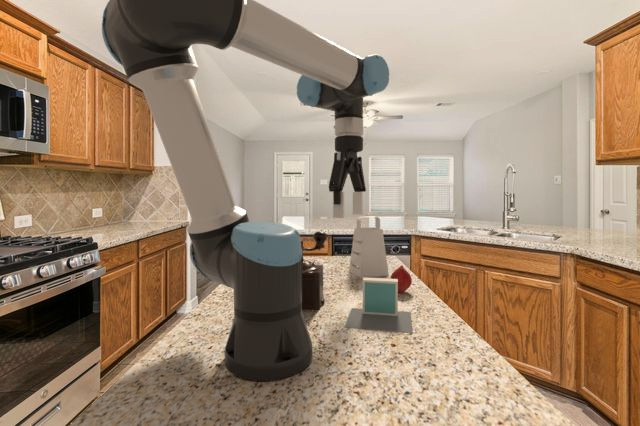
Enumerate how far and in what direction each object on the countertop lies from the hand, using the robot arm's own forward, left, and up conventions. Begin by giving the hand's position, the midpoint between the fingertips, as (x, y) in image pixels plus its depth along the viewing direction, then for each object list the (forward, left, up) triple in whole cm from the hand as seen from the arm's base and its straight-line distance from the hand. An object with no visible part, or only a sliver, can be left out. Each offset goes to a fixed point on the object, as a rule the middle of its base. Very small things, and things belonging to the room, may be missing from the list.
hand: (348, 216), depth 91 cm
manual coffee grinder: (-5, +11, -23) cm, 26 cm away
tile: (-11, -9, -22) cm, 26 cm away
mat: (-15, -9, -22) cm, 29 cm away
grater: (+29, -3, -23) cm, 37 cm away
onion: (+7, -14, -23) cm, 27 cm away
